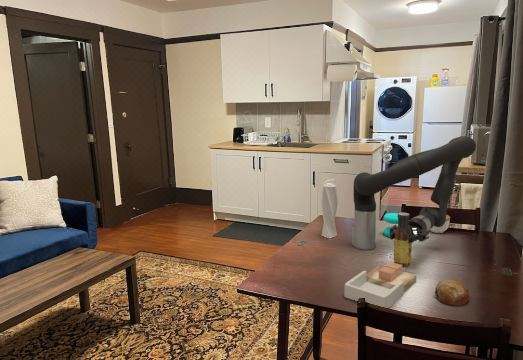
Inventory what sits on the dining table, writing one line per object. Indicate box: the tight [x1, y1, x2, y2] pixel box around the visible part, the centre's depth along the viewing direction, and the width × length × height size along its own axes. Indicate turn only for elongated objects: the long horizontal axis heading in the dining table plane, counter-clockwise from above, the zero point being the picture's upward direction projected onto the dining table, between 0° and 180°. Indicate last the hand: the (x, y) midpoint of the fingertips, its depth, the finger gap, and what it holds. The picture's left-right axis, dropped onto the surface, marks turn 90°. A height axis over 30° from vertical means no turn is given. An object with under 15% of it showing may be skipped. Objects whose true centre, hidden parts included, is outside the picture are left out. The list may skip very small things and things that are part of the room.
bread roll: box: [434, 279, 470, 306], centre depth 126 cm, size 10×10×8 cm
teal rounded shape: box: [382, 212, 399, 238], centre depth 186 cm, size 10×10×10 cm
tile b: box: [379, 265, 397, 282], centre depth 137 cm, size 4×4×3 cm
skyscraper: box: [321, 178, 338, 238], centre depth 185 cm, size 8×8×28 cm
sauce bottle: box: [393, 212, 413, 268], centre depth 143 cm, size 7×6×20 cm
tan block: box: [384, 261, 403, 277], centre depth 140 cm, size 4×4×3 cm
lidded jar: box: [429, 214, 451, 234], centre depth 190 cm, size 11×11×9 cm
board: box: [367, 264, 417, 294], centre depth 139 cm, size 14×12×2 cm
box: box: [343, 270, 404, 309], centre depth 130 cm, size 15×14×4 cm
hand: (400, 238), depth 141 cm, fingers closed on sauce bottle, 6 cm apart
